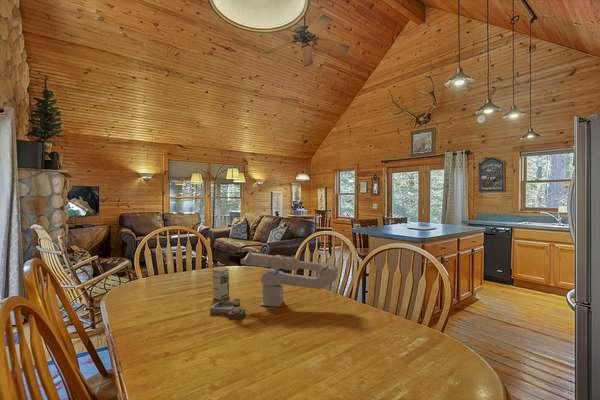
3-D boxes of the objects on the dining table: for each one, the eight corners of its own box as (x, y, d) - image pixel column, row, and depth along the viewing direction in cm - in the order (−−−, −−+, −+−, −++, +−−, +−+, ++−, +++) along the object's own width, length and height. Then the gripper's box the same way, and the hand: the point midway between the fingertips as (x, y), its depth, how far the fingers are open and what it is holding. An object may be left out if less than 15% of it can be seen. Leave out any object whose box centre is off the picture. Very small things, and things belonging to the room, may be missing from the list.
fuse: (241, 314, 132) (241, 298, 132) (238, 317, 129) (238, 301, 129) (234, 314, 132) (234, 298, 132) (231, 317, 129) (231, 300, 129)
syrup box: (220, 300, 151) (219, 270, 150) (212, 297, 154) (212, 269, 154) (229, 297, 155) (228, 268, 155) (221, 294, 159) (221, 266, 158)
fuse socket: (245, 314, 133) (245, 309, 133) (240, 319, 127) (240, 314, 127) (233, 313, 134) (233, 308, 134) (227, 318, 128) (227, 313, 128)
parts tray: (239, 307, 141) (239, 301, 141) (230, 315, 132) (230, 309, 132) (219, 305, 143) (219, 300, 143) (210, 313, 133) (210, 307, 133)
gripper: (264, 248, 153) (238, 245, 156) (254, 254, 139) (226, 250, 141) (263, 262, 153) (237, 259, 156) (253, 269, 139) (225, 266, 142)
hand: (232, 256), depth 149 cm, fingers open, 7 cm apart
